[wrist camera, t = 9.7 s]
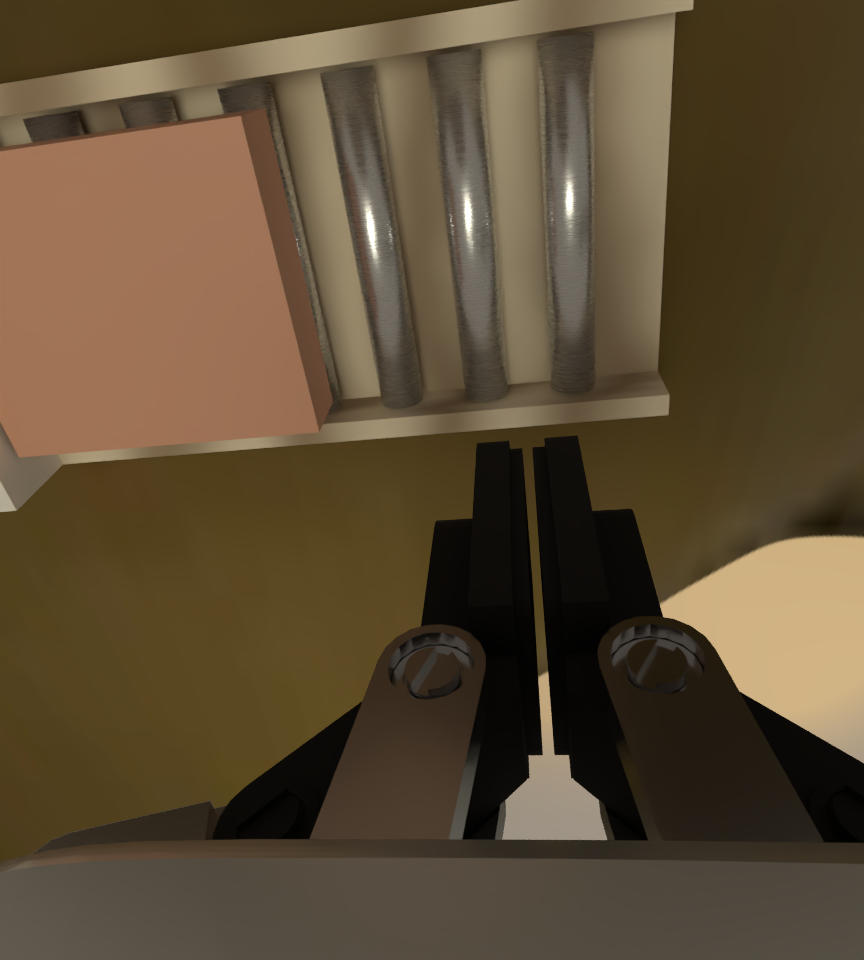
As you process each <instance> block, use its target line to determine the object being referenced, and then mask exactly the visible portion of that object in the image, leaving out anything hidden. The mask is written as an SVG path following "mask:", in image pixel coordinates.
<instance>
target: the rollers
mask: <svg viewBox="0 0 864 960" xmlns="http://www.w3.org/2000/svg"><path fill="white" fill-rule="evenodd" d="M537 56H538V80H539V105H540V129H541V153H542V177H543V202H544V226H545V250H546V274H547V299H548V323H549V347H550V371H551V387H552V389H553V390H555V391H557V392H560V393H565V394H577V393H582V392H586V391H588V390H590V389H592V388H593V387H594V386H595V151H594V31H592V32H585V33H578V34H571V35H565V36H558V37H552V38H546V39H540V40H537ZM426 59H427V68H428V76H429V85H430V94H431V102H432V111H433V120H434V128H435V137H436V146H437V154H438V163H439V171H440V180H441V189H442V197H443V206H444V215H445V223H446V232H447V241H448V249H449V258H450V267H451V275H452V284H453V293H454V301H455V310H456V319H457V327H458V336H459V345H460V353H461V362H462V371H463V379H464V388H465V395H466V397H467V398H468V399H470V400H473V401H480V402H484V401H492V400H496V399H499V398H501V397H503V396H504V395H506V393H507V392H508V386H507V373H506V361H505V348H504V335H503V322H502V310H501V297H500V284H499V271H498V259H497V246H496V233H495V220H494V208H493V195H492V182H491V170H490V157H489V144H488V131H487V119H486V106H485V93H484V80H483V68H482V55H481V49H474V50H467V51H460V52H454V53H447V54H441V55H435V56H429V57H426ZM320 77H321V83H322V88H323V93H324V99H325V104H326V109H327V115H328V120H329V125H330V131H331V136H332V141H333V146H334V152H335V157H336V162H337V168H338V173H339V178H340V184H341V189H342V194H343V199H344V205H345V210H346V215H347V221H348V226H349V231H350V237H351V242H352V247H353V252H354V258H355V263H356V268H357V274H358V279H359V284H360V290H361V295H362V300H363V305H364V311H365V316H366V321H367V327H368V332H369V337H370V343H371V348H372V353H373V358H374V364H375V369H376V374H377V380H378V385H379V390H380V396H381V401H382V405H383V406H385V407H387V408H390V409H403V408H408V407H411V406H414V405H416V404H418V403H419V402H421V401H422V399H423V391H422V384H421V378H420V371H419V365H418V358H417V351H416V345H415V338H414V332H413V325H412V318H411V312H410V305H409V299H408V292H407V285H406V279H405V272H404V266H403V259H402V253H401V246H400V239H399V233H398V226H397V220H396V213H395V206H394V200H393V193H392V187H391V180H390V174H389V167H388V160H387V154H386V147H385V141H384V134H383V127H382V121H381V114H380V108H379V101H378V94H377V88H376V81H375V75H374V68H373V65H370V66H363V67H356V68H350V69H343V70H337V71H331V72H325V73H320ZM217 91H218V95H219V99H220V103H221V106H222V110H223V114H228V113H235V112H242V111H249V110H255V109H262V108H266V113H267V117H268V121H269V126H270V130H271V134H272V139H273V143H274V147H275V152H276V156H277V160H278V165H279V169H280V173H281V178H282V182H283V186H284V191H285V195H286V199H287V204H288V208H289V212H290V217H291V221H292V225H293V230H294V234H295V238H296V243H297V247H298V251H299V256H300V260H301V264H302V269H303V273H304V277H305V282H306V286H307V290H308V295H309V299H310V303H311V308H312V312H313V316H314V321H315V325H316V329H317V334H318V338H319V342H320V347H321V351H322V355H323V360H324V364H325V368H326V373H327V377H328V381H329V386H330V390H331V394H332V399H333V402H332V404H331V407H330V409H329V411H328V414H329V413H331V412H334V411H335V410H337V409H338V408H339V407H340V406H341V404H342V402H341V397H340V393H339V388H338V384H337V379H336V375H335V370H334V366H333V361H332V357H331V352H330V348H329V343H328V339H327V335H326V330H325V326H324V321H323V317H322V312H321V308H320V303H319V299H318V294H317V290H316V285H315V281H314V276H313V272H312V267H311V263H310V258H309V254H308V249H307V245H306V241H305V236H304V232H303V227H302V223H301V218H300V214H299V209H298V205H297V200H296V196H295V191H294V187H293V182H292V178H291V173H290V169H289V164H288V160H287V155H286V151H285V147H284V142H283V138H282V133H281V129H280V124H279V120H278V115H277V111H276V106H275V102H274V97H273V93H272V88H271V84H270V81H266V82H259V83H252V84H246V85H239V86H233V87H227V88H221V89H217ZM118 106H119V109H120V112H121V115H122V118H123V121H124V124H125V127H126V129H127V128H134V127H141V126H148V125H154V124H161V123H168V122H174V121H178V118H177V115H176V111H175V108H174V104H173V101H172V98H171V96H168V97H161V98H154V99H148V100H142V101H136V102H129V103H124V104H118ZM22 120H23V122H24V125H25V127H26V130H27V132H28V135H29V137H30V140H31V142H32V143H33V142H40V141H46V140H53V139H60V138H67V137H73V136H80V135H85V133H84V130H83V127H82V125H81V122H80V119H79V116H78V114H77V111H70V112H63V113H57V114H51V115H44V116H38V117H32V118H26V119H22Z"/></svg>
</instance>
